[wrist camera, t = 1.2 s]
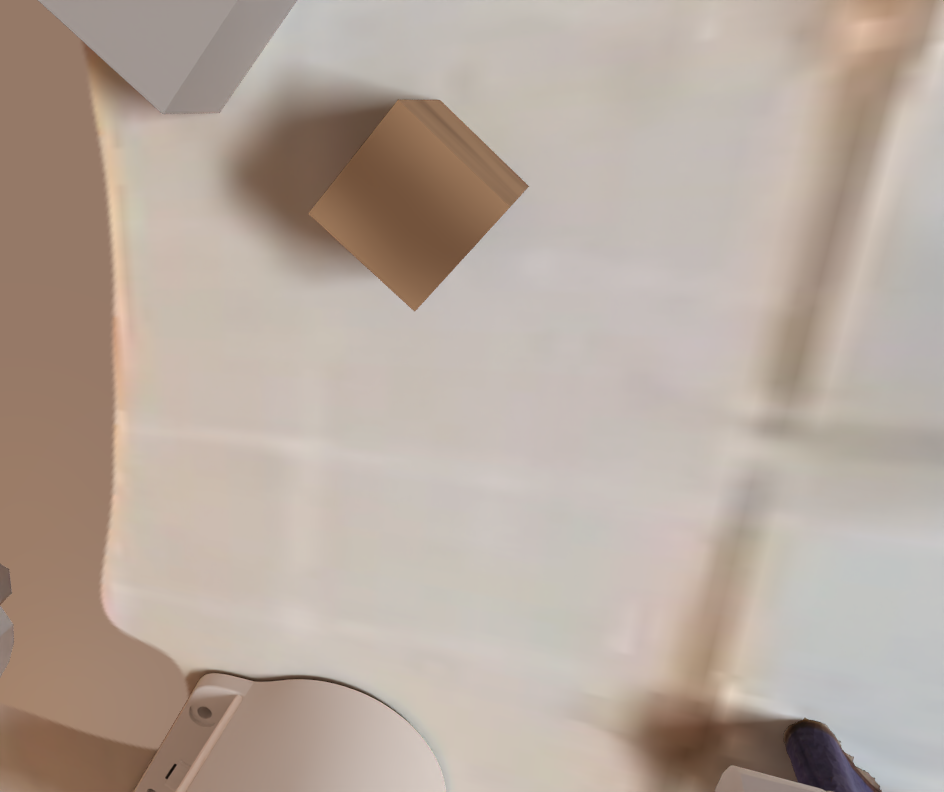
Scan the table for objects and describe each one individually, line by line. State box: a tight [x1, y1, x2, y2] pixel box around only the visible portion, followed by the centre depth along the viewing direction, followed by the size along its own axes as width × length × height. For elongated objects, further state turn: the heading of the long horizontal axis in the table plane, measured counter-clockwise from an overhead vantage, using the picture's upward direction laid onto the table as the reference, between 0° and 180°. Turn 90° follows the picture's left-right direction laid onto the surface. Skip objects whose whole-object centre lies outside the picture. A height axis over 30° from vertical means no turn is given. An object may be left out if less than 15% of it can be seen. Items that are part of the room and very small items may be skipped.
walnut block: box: [308, 100, 529, 311], centre depth 30 cm, size 5×5×7 cm
